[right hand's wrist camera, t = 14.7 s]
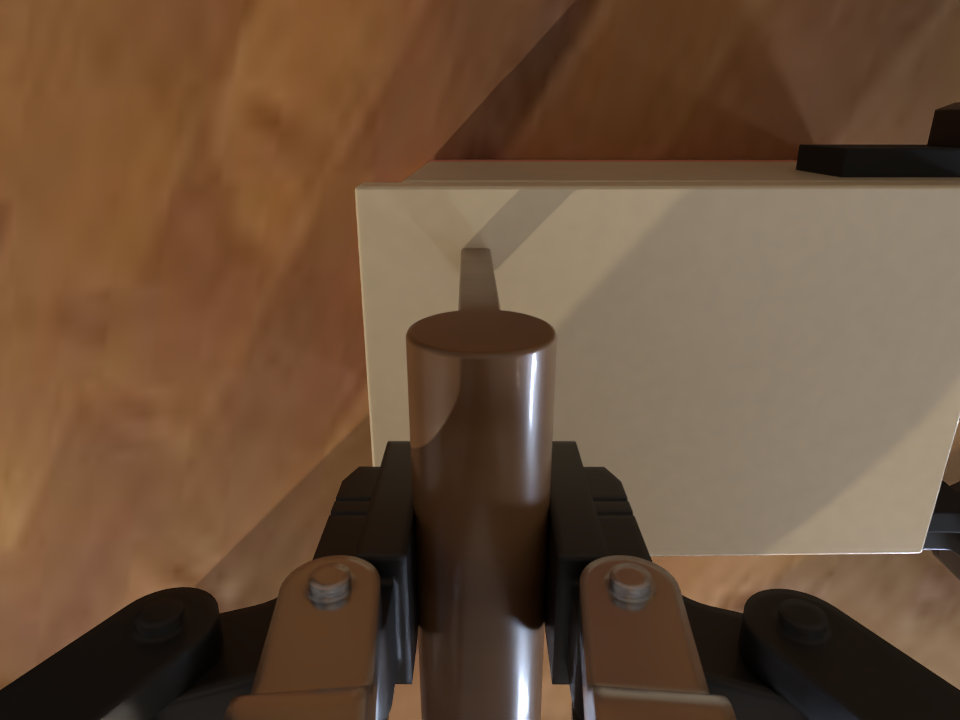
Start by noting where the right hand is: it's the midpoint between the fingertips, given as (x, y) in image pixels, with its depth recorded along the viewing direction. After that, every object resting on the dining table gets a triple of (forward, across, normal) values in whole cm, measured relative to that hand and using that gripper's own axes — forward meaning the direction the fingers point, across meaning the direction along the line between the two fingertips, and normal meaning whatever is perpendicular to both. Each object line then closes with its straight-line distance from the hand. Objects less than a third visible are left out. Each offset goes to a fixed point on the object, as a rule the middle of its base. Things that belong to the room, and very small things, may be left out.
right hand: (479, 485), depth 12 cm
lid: (+6, -5, 0) cm, 8 cm away
